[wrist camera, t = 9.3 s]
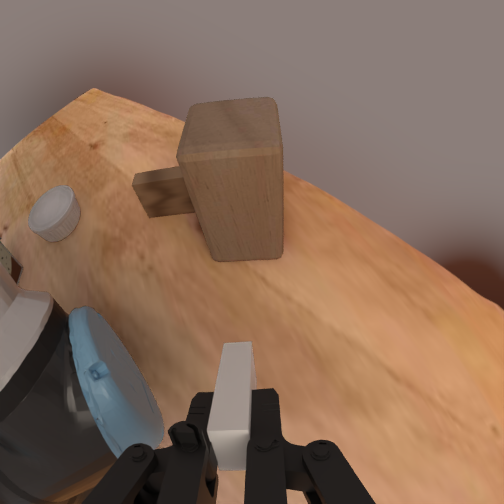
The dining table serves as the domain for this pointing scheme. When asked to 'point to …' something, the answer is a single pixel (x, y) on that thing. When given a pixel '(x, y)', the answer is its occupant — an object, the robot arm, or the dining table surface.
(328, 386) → the dining table surface
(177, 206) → the board
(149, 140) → the dining table surface
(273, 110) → the block
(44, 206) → the ramekin
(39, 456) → the robot arm
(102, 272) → the dining table surface
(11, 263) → the food container
